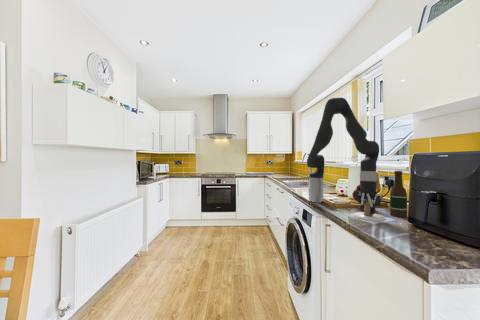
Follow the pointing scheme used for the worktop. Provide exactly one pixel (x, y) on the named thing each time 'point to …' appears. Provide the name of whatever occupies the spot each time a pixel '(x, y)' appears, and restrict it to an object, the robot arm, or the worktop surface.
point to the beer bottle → (398, 197)
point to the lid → (368, 214)
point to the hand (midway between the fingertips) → (368, 213)
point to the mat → (371, 221)
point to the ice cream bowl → (355, 195)
